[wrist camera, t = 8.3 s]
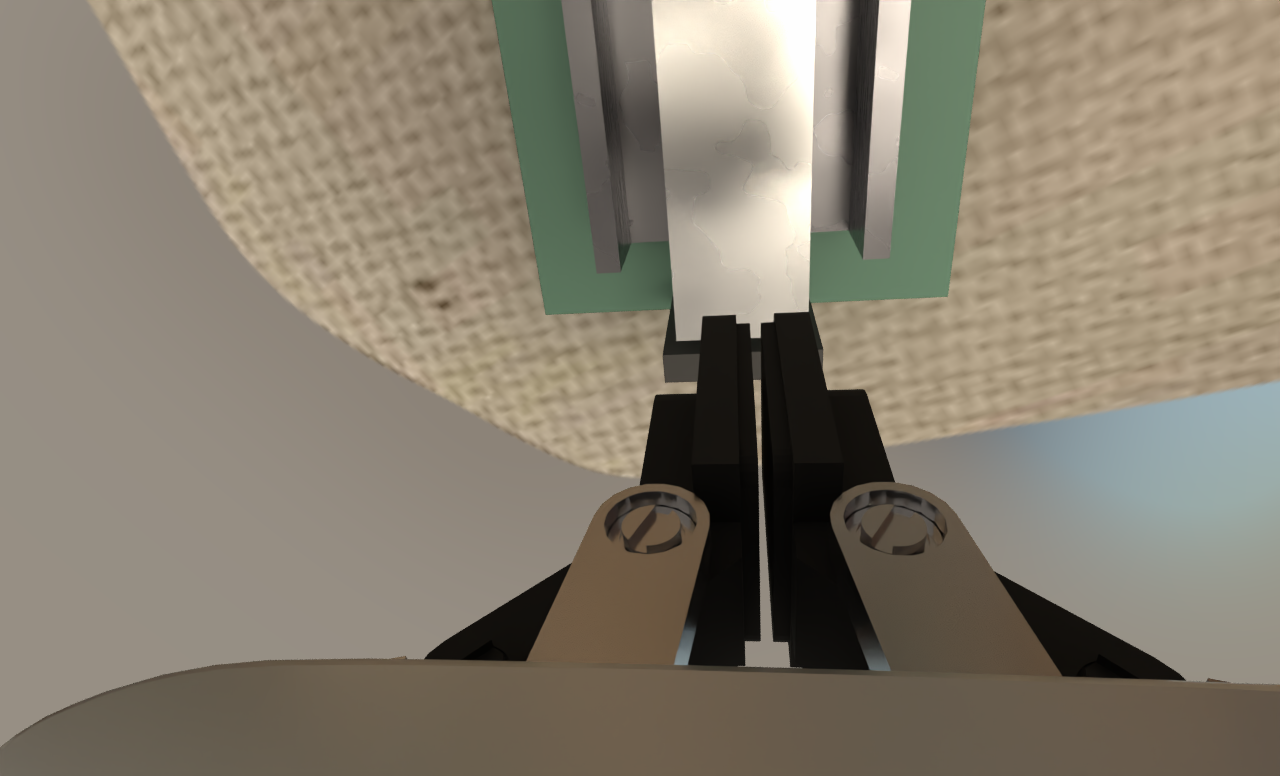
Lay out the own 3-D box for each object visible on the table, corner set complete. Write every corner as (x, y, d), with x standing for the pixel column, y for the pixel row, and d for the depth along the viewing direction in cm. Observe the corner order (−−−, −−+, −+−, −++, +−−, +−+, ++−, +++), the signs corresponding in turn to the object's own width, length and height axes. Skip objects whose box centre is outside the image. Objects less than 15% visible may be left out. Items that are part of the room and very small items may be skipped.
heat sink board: (450, -323, 21) (317, -471, 14) (1022, -423, 19) (1193, -655, 12) (553, 300, 31) (503, 392, 24) (937, 282, 29) (1005, 377, 22)
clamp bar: (622, -339, 16) (613, -367, 14) (827, -374, 15) (836, -407, 14) (672, 325, 23) (669, 343, 22) (810, 320, 22) (815, 338, 21)
